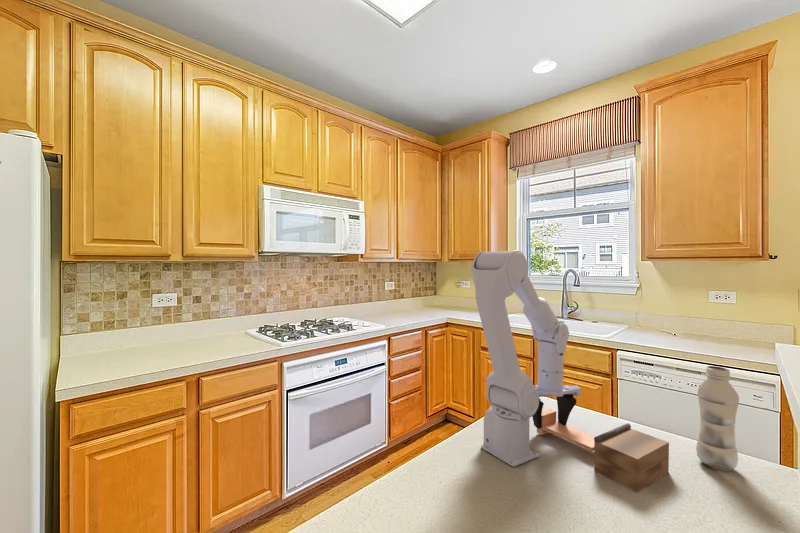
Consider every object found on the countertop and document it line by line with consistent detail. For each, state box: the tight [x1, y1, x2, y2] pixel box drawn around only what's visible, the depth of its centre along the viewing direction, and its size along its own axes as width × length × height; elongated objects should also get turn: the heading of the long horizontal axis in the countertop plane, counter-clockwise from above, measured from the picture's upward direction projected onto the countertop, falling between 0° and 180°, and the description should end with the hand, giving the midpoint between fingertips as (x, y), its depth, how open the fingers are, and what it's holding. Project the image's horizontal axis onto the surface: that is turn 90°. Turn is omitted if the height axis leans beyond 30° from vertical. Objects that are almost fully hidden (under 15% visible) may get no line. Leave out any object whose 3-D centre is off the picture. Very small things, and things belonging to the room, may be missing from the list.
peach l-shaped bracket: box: [536, 408, 595, 452], centre depth 85 cm, size 14×5×5 cm, turn 32°
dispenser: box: [593, 422, 670, 493], centre depth 73 cm, size 8×12×7 cm
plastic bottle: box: [695, 365, 740, 472], centre depth 75 cm, size 6×7×20 cm
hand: (549, 426), depth 89 cm, fingers closed on peach l-shaped bracket, 6 cm apart
